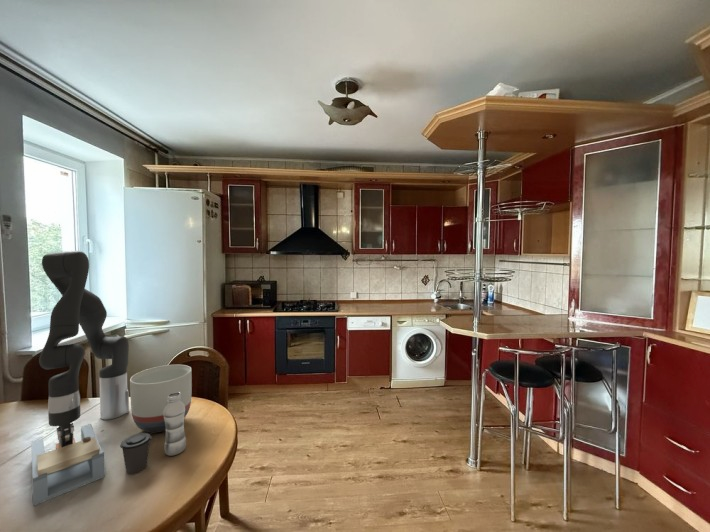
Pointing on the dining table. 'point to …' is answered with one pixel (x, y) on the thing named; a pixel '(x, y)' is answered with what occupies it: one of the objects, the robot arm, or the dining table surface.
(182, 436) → the plastic bottle
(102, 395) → the robot arm
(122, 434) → the dining table surface
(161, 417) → the planter
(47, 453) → the lid
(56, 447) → the block
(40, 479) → the stand
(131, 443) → the coffee cup
